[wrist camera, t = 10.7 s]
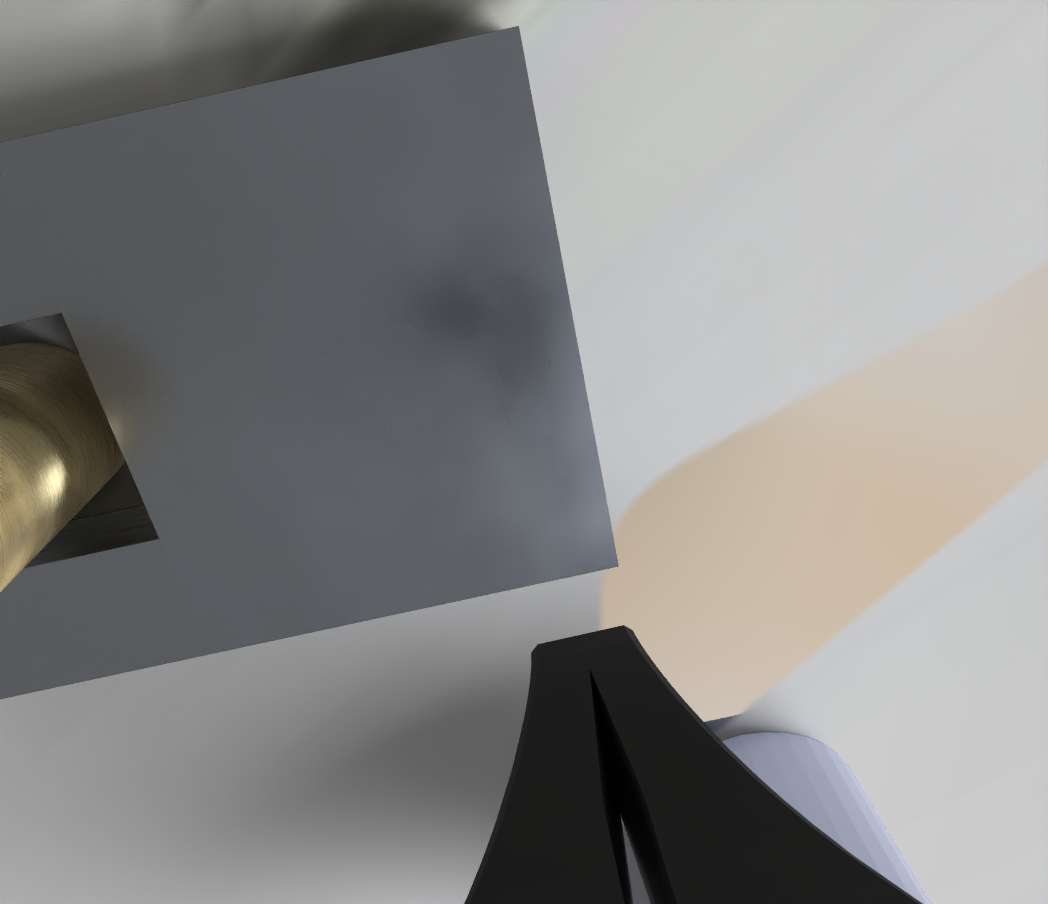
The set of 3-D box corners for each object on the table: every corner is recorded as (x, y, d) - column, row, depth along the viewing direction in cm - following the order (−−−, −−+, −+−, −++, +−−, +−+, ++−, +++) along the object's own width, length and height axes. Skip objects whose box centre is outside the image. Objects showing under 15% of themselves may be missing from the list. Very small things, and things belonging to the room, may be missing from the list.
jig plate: (603, 521, 22) (618, 566, 20) (-39, 659, 22) (-93, 718, 20) (511, 37, 18) (519, 26, 15) (-294, 217, 18) (-402, 232, 16)
